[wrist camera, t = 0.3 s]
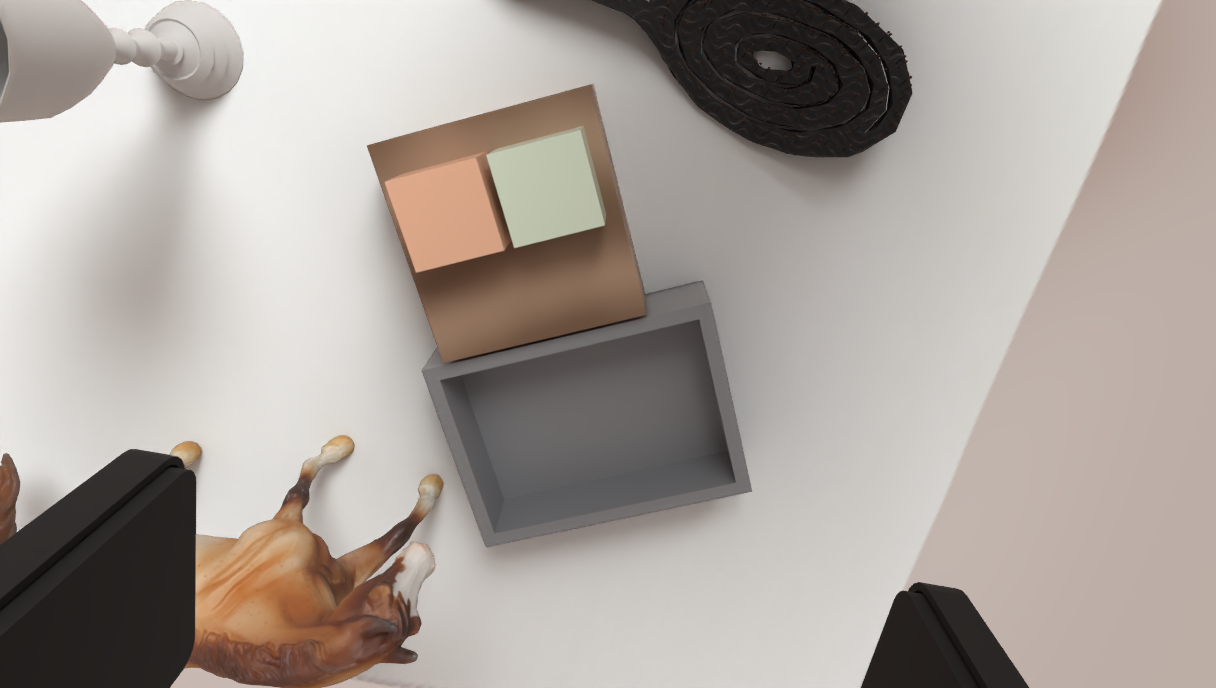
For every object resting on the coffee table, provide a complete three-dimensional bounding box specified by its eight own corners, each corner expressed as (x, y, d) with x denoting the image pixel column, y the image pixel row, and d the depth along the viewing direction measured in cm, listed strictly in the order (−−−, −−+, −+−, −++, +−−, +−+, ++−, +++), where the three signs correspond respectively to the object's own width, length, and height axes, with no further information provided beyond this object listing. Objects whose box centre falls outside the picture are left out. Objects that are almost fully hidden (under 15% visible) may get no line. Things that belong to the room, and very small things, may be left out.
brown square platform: (395, 137, 42) (366, 145, 37) (593, 84, 41) (589, 85, 36) (461, 333, 46) (443, 363, 41) (644, 289, 45) (646, 314, 40)
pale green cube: (496, 148, 37) (486, 155, 35) (583, 125, 37) (580, 129, 34) (522, 235, 39) (514, 248, 36) (606, 214, 38) (604, 225, 36)
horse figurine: (495, 405, 48) (408, 631, 28) (505, 511, 50) (432, 784, 31) (19, 418, 49) (-380, 645, 29) (53, 520, 51) (-293, 792, 32)
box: (440, 343, 46) (421, 370, 42) (702, 280, 45) (710, 302, 40) (497, 507, 50) (485, 547, 46) (740, 455, 49) (752, 491, 44)
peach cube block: (402, 173, 38) (384, 181, 35) (487, 151, 37) (475, 157, 35) (430, 258, 39) (416, 272, 37) (512, 237, 39) (504, 250, 36)
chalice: (139, 112, 42) (-187, 139, 25) (118, -22, 40) (-258, -93, 23) (270, 118, 42) (31, 149, 25) (255, -16, 40) (-18, -82, 23)
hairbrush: (473, -185, 35) (953, 35, 37) (490, -160, 38) (928, 40, 40) (420, -4, 38) (869, 194, 39) (440, 4, 41) (852, 185, 43)
